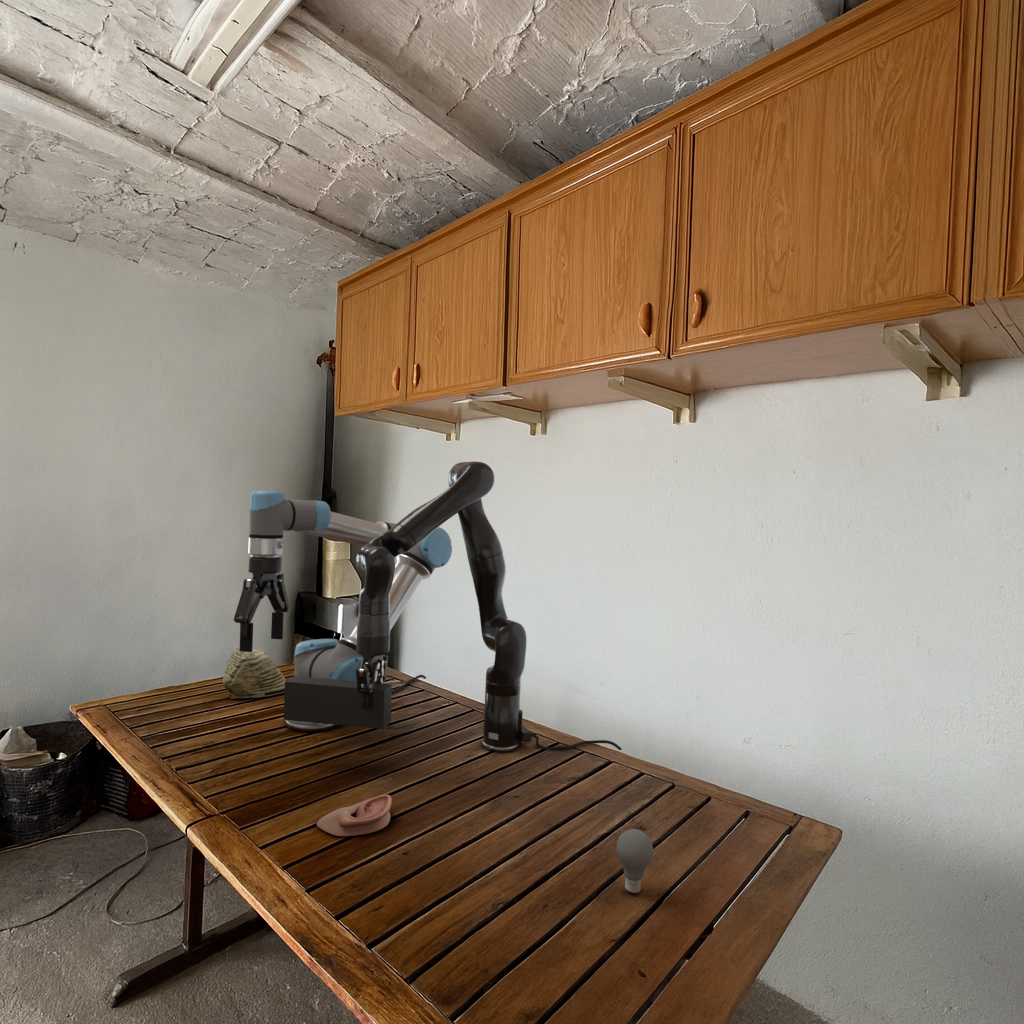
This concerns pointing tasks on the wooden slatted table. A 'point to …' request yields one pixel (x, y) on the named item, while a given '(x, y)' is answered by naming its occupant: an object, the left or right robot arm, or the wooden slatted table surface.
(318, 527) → the left robot arm
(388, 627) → the right robot arm
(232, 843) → the wooden slatted table surface
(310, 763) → the wooden slatted table surface
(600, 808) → the wooden slatted table surface
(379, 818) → the anatomical model
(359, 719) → the bar
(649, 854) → the light bulb
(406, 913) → the wooden slatted table surface
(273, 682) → the fossil
